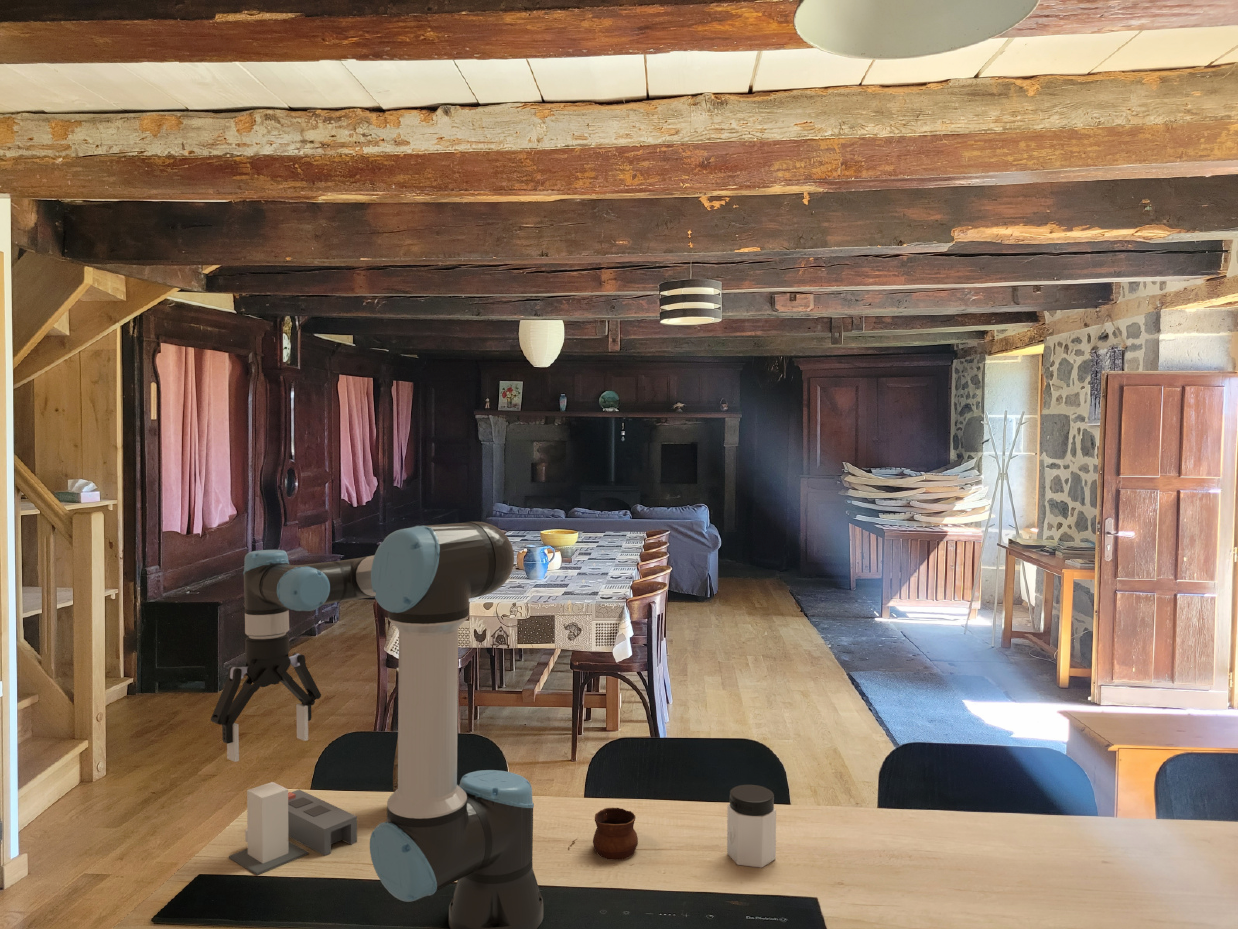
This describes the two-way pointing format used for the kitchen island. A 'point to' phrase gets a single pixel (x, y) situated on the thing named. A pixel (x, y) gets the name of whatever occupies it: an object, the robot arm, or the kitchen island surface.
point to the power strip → (319, 822)
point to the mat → (260, 867)
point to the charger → (267, 822)
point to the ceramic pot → (614, 834)
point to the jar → (751, 826)
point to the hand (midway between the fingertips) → (269, 749)
